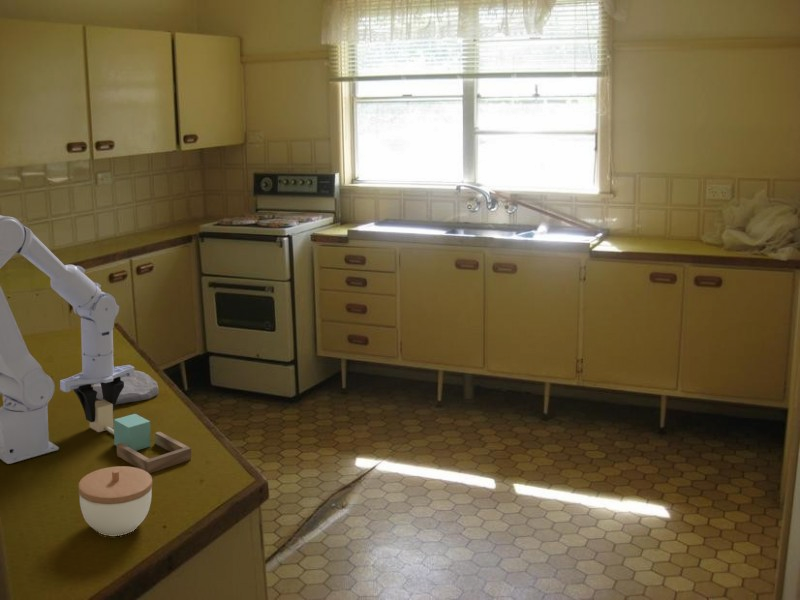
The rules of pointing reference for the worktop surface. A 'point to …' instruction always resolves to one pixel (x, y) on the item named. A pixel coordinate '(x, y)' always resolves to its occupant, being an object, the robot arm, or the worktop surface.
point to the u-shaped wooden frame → (175, 456)
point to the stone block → (133, 388)
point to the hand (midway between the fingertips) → (99, 418)
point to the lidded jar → (115, 499)
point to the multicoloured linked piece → (122, 426)
